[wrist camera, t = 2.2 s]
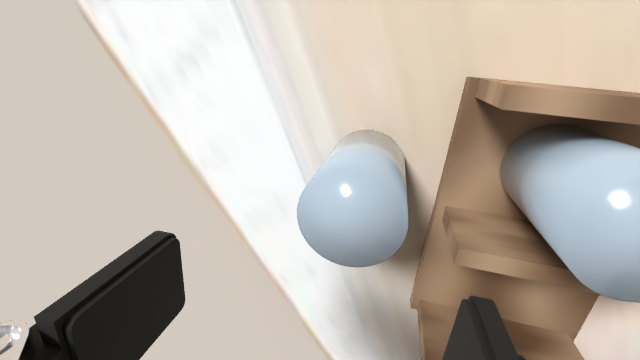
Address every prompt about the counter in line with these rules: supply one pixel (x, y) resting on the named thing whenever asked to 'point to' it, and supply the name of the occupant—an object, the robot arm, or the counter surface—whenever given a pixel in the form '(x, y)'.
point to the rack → (507, 220)
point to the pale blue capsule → (581, 202)
